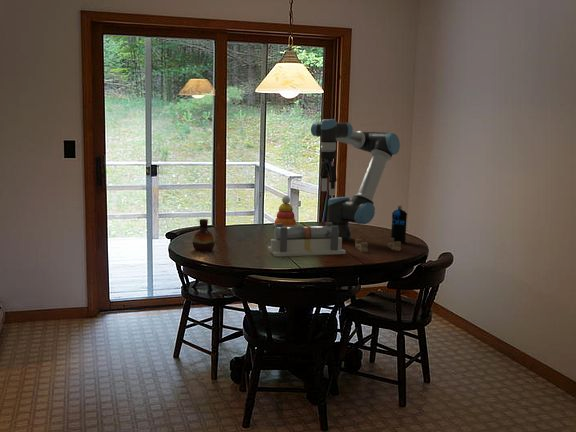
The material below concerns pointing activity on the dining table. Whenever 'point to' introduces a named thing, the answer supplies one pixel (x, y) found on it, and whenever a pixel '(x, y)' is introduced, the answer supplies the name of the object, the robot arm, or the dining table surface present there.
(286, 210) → the stacking toy
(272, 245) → the white cradle stand
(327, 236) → the tube
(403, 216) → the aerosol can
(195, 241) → the vase
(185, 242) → the dining table surface
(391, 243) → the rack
